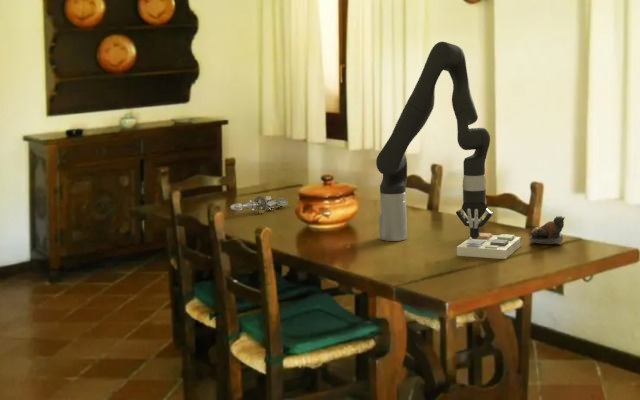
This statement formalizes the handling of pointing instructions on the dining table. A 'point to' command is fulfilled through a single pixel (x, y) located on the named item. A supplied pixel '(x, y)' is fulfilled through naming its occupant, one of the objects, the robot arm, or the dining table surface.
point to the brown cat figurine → (549, 232)
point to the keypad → (488, 248)
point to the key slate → (476, 242)
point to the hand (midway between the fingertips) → (474, 238)
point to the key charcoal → (499, 242)
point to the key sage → (505, 237)
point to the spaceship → (260, 204)
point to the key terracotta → (485, 236)
